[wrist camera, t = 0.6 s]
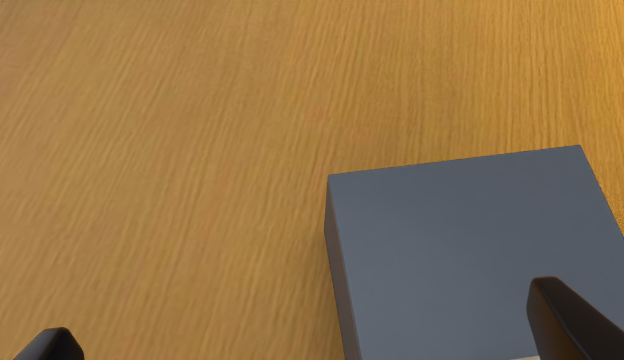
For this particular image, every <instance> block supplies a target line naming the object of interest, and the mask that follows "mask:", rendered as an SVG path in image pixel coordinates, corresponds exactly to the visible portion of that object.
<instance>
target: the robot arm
mask: <svg viewBox="0 0 624 360" xmlns="http://www.w3.org/2000/svg"><path fill="white" fill-rule="evenodd" d="M526 311H527V317H528V321H529V324H530V327H531V331H532V334H533V337H534V341H535V344H536V347H537V350H538V354H539V357H540V360H624V331H623V330H621V329H620V328H619V327H618V326H617V325H615V324H614V323H613V322H612V321H610V320H609V319H608V318H607V317H606V316H604V315H603V314H602V313H601V312H599V311H598V310H597V309H596V308H595V307H593V306H592V305H591V304H590V303H588V302H587V301H586V300H585V299H584V298H582V297H581V296H580V295H579V294H577V293H576V292H575V291H574V290H572V289H571V288H570V287H569V286H568V285H566V284H565V283H564V282H563V281H561V280H560V279H559V278H557V277H555V276H544V277H536V278H533V279H532V280H531V283H530V288H529V294H528V299H527V305H526ZM13 360H84V353H83V350H82V348H81V347H80V345H79V344H78V343H77V341H76V340H75V338H74V337H73V335H72V334H71V332H70V331H69V330H68V329H67V328H65V327H59V328H50V329H46V330H43V331H42V332H41V333H40V334H38V335H37V336H36V337H35V338H34V339H33V340H32V341H31V342H30V343H29V344H28V345H27V346H26V347H25V348H24V349H23V350H22V351H21V352H20V353H19V354H18V355H17V356H16V357H15V358H14V359H13Z"/></svg>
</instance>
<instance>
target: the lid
mask: <svg viewBox="0 0 624 360" xmlns="http://www.w3.org/2000/svg"><path fill="white" fill-rule="evenodd" d="M328 186H329V192H330V197H331V203H332V209H333V214H334V220H335V225H336V231H337V236H338V242H339V247H340V253H341V259H342V264H343V270H344V275H345V281H346V286H347V292H348V297H349V303H350V309H351V314H352V320H353V325H354V331H355V336H356V342H357V347H358V353H359V358H360V360H540V357H539V354H538V350H537V347H536V344H535V341H534V337H533V334H532V331H531V327H530V324H529V321H528V317H527V311H526V305H527V299H528V294H529V288H530V283H531V280H532V279H533V278H536V277H544V276H555V277H557V278H559V279H560V280H561V281H563V282H564V283H565V284H566V285H568V286H569V287H570V288H571V289H572V290H574V291H575V292H576V293H577V294H579V295H580V296H581V297H582V298H584V299H585V300H586V301H587V302H588V303H590V304H591V305H592V306H593V307H595V308H596V309H597V310H598V311H599V312H601V313H602V314H603V315H604V316H606V317H607V318H608V319H609V320H610V321H612V322H613V323H614V324H615V325H617V326H618V327H619V328H620V329H621V330H623V331H624V237H623V235H622V233H621V230H620V228H619V226H618V224H617V222H616V220H615V218H614V216H613V213H612V211H611V209H610V207H609V205H608V203H607V201H606V199H605V196H604V194H603V192H602V190H601V188H600V186H599V184H598V181H597V179H596V177H595V175H594V173H593V171H592V169H591V167H590V164H589V162H588V160H587V158H586V156H585V154H584V152H583V150H582V147H581V145H574V146H565V147H557V148H549V149H540V150H532V151H524V152H515V153H507V154H499V155H490V156H482V157H474V158H465V159H457V160H449V161H440V162H432V163H424V164H415V165H407V166H399V167H390V168H382V169H374V170H366V171H357V172H349V173H341V174H332V175H328Z"/></svg>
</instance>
